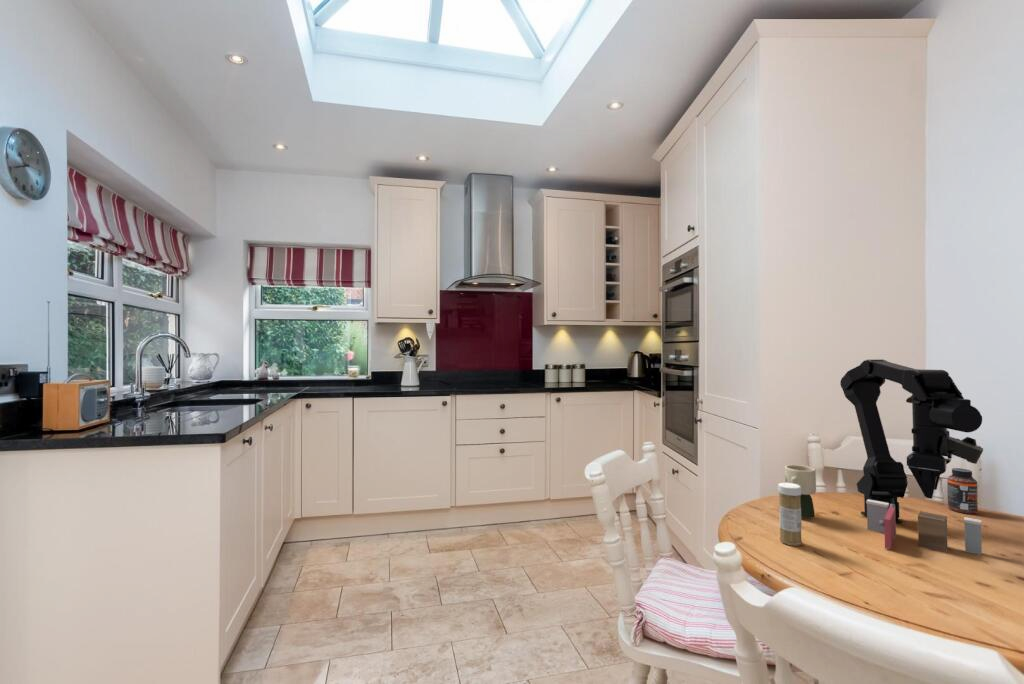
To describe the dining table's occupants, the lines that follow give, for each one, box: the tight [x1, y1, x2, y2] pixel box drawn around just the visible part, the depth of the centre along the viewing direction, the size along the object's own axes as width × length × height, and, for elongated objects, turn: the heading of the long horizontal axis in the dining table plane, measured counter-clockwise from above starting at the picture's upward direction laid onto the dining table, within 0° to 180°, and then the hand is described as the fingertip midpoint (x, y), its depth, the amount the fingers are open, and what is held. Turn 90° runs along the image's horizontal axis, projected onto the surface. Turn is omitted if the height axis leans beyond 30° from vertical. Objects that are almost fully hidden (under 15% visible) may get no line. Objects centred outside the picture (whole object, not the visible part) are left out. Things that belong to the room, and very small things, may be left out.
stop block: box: [917, 510, 949, 554], centre depth 105 cm, size 4×4×7 cm
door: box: [879, 507, 897, 550], centre depth 107 cm, size 11×2×6 cm, turn 136°
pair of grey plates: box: [866, 499, 983, 556], centre depth 108 cm, size 20×2×7 cm, turn 43°
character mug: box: [784, 464, 817, 519], centre depth 124 cm, size 11×7×13 cm, turn 129°
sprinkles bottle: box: [777, 482, 803, 547], centre depth 107 cm, size 5×5×14 cm
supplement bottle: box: [946, 467, 979, 515], centre depth 127 cm, size 6×6×11 cm
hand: (931, 493), depth 105 cm, fingers open, 9 cm apart
